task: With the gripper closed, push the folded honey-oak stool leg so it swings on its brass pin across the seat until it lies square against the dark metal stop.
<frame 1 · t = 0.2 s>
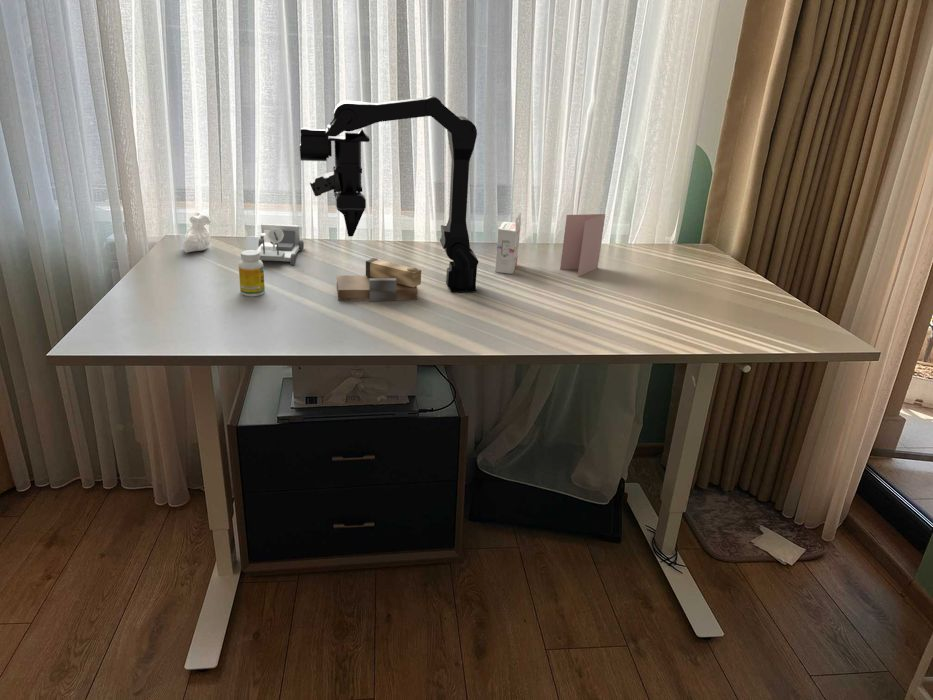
hand: (349, 230, 164), 14 cm above the table, fingers open, 9 cm apart
stool seat: (376, 292, 167), on the table
white tied sack: (198, 250, 189), on the table
greeting card: (583, 272, 192), on the table
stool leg: (393, 272, 167), point 5 cm above the table, hinge at -40.0°
ink cartridge box: (505, 269, 190), on the table
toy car: (276, 259, 187), on the table
supplement bottle: (252, 293, 162), on the table
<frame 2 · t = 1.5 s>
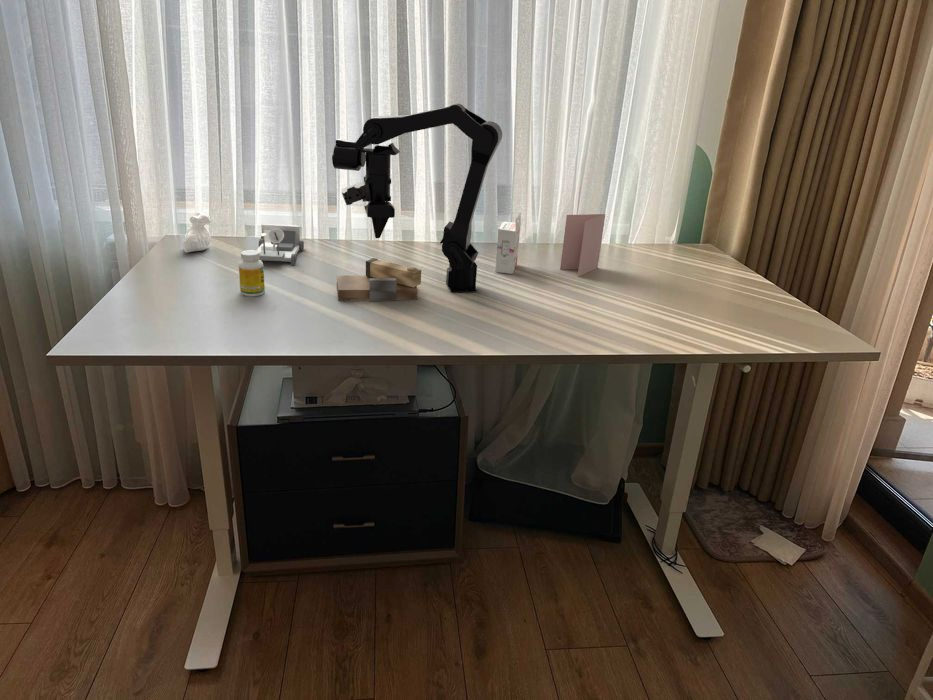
hand: (377, 237, 173), 10 cm above the table, fingers closed
nothing on the table moved.
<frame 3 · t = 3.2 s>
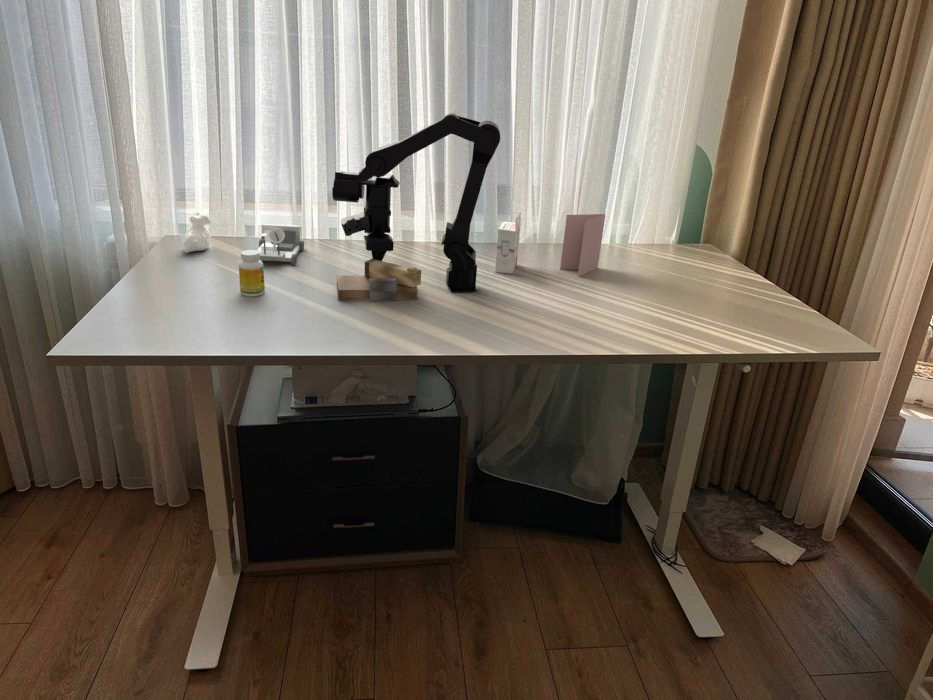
hand: (376, 267, 173), 4 cm above the table, fingers closed
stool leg: (392, 272, 167), point 5 cm above the table, hinge at -37.4°, touching gripper
everything else where it was.
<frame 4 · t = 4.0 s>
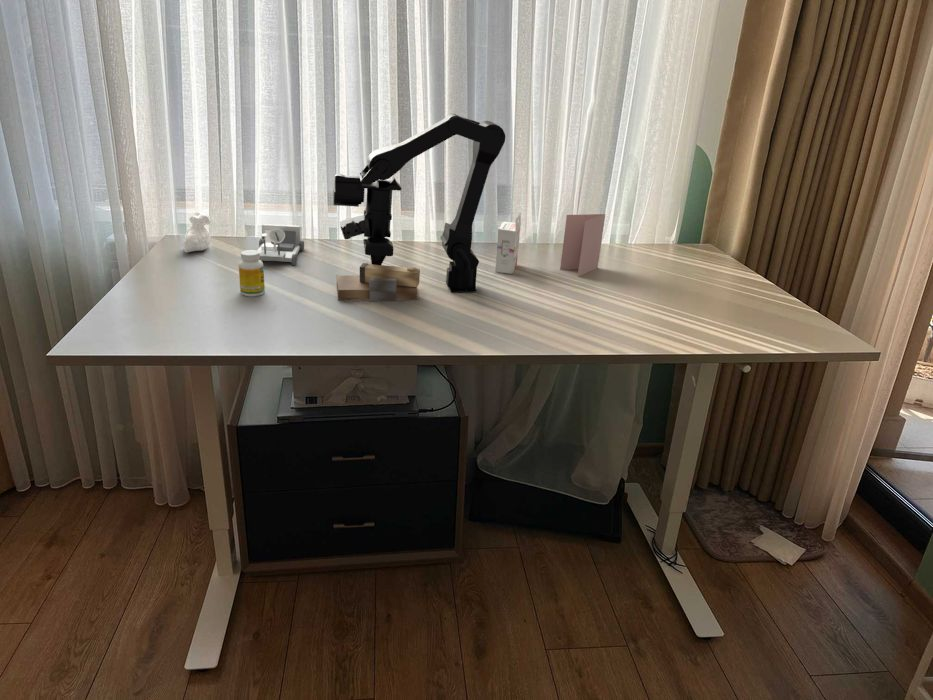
hand: (375, 272, 169), 4 cm above the table, fingers closed
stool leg: (389, 274, 165), point 5 cm above the table, hinge at -17.4°, touching gripper
everything else where it was.
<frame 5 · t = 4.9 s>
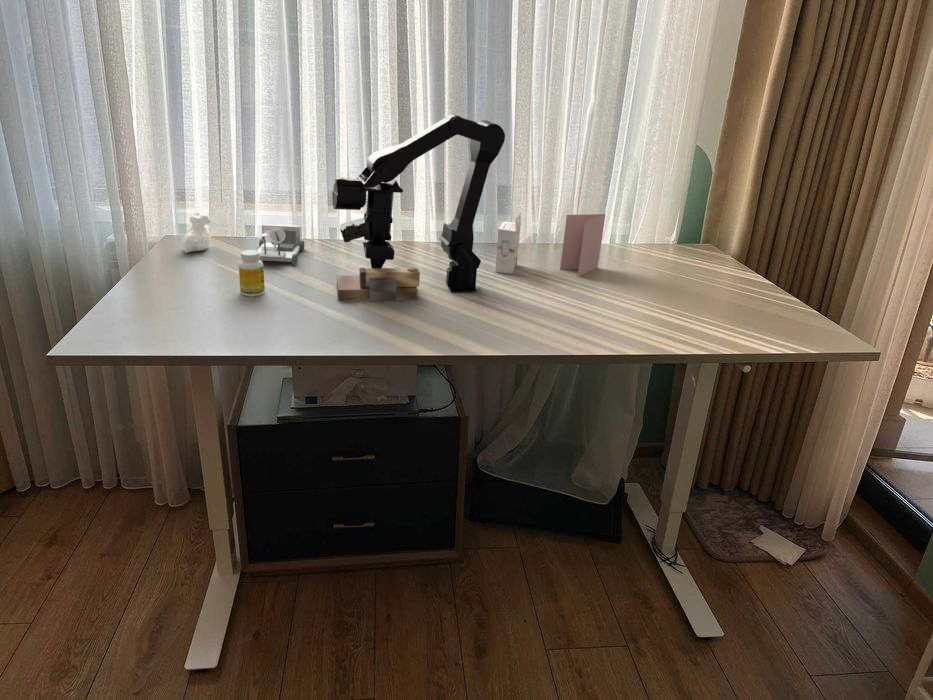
hand: (374, 276, 166), 4 cm above the table, fingers closed
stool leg: (389, 277, 164), point 5 cm above the table, hinge at 0.7°, touching gripper
everything else where it was.
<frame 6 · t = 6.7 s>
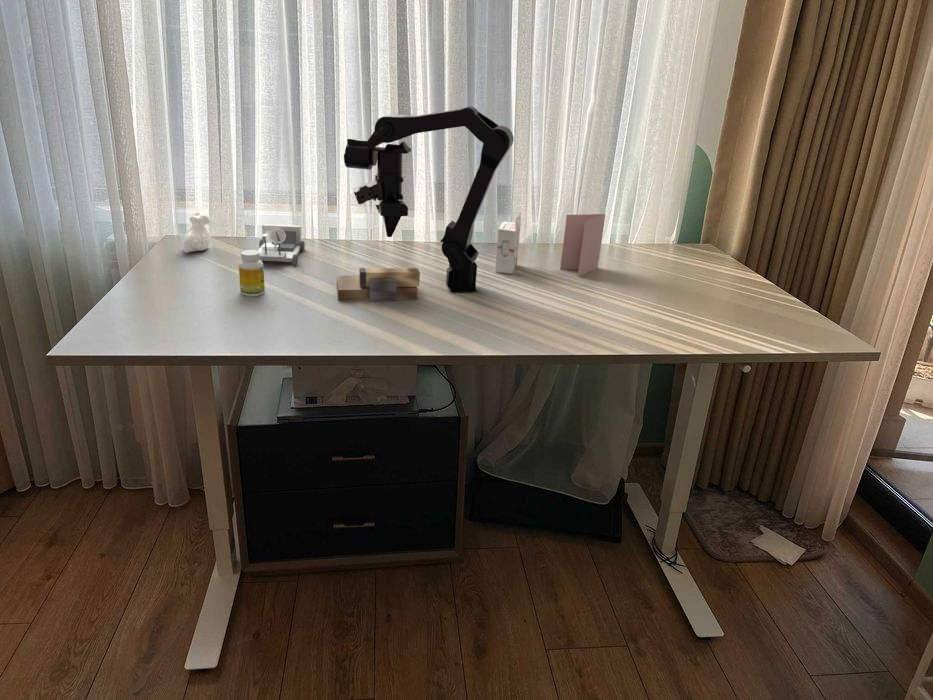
hand: (389, 236, 172), 11 cm above the table, fingers closed
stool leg: (389, 277, 164), point 5 cm above the table, hinge at 0.8°
everything else where it was.
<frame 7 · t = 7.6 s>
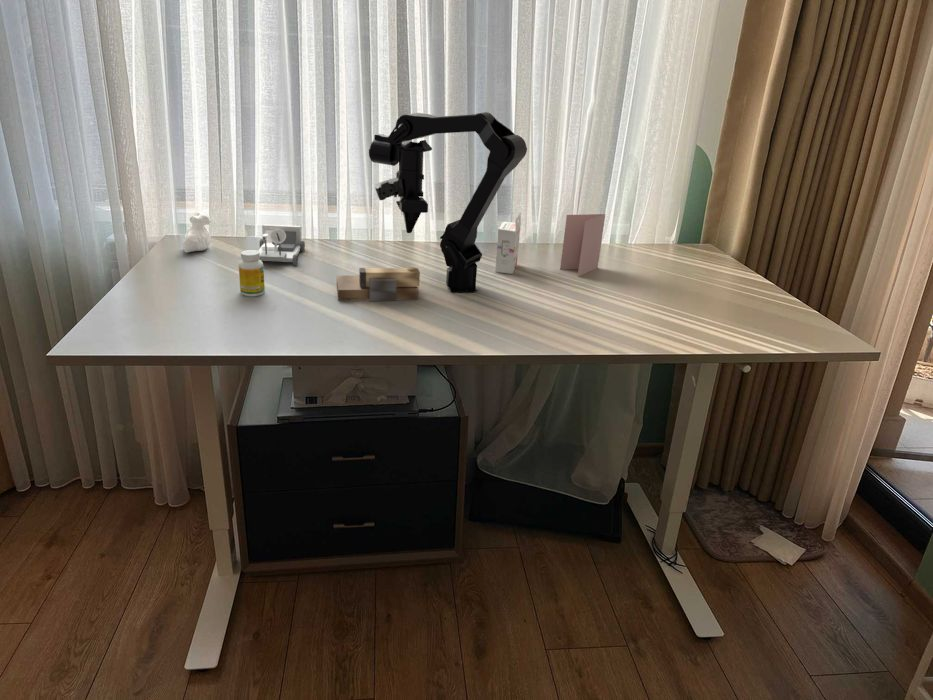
hand: (408, 232, 176), 11 cm above the table, fingers closed
nothing on the table moved.
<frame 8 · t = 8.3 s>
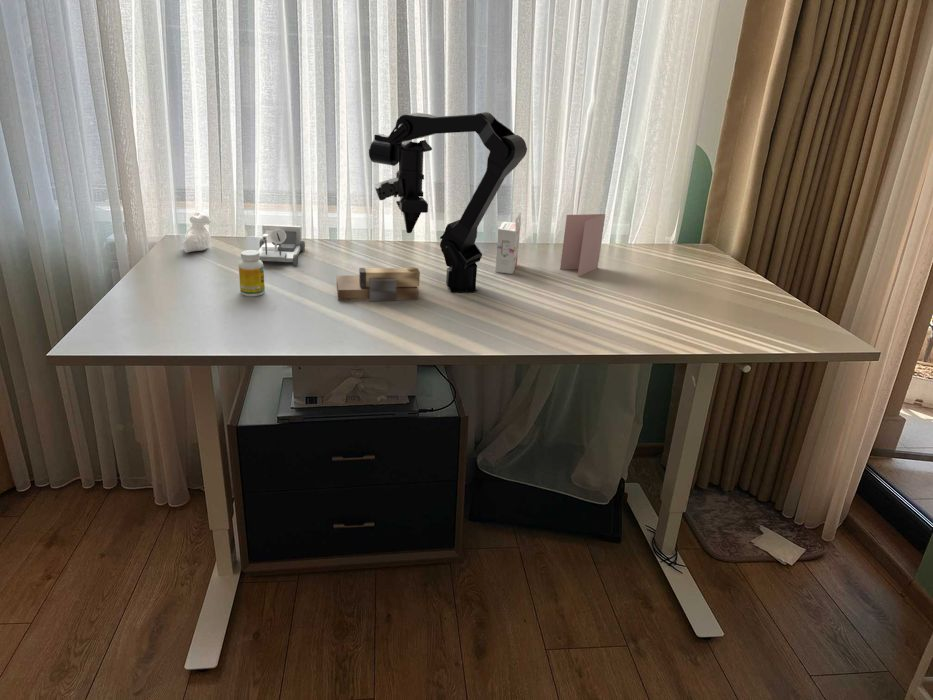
hand: (408, 232, 176), 11 cm above the table, fingers closed
nothing on the table moved.
at the end: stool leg at +1° (first picture: -40°) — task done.
